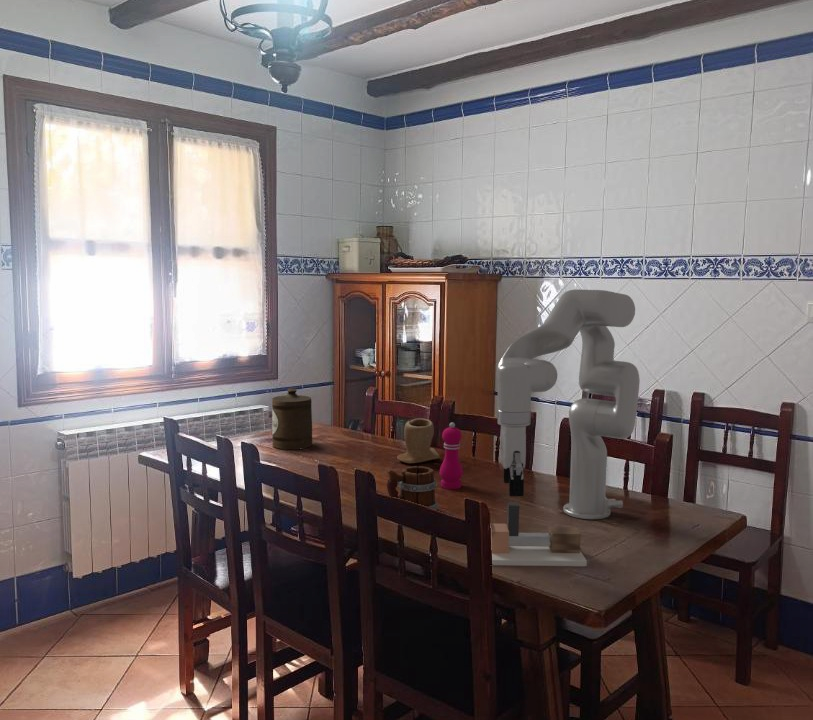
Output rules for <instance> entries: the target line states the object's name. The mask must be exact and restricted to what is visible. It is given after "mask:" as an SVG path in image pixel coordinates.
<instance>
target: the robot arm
mask: <svg viewBox="0 0 813 720" xmlns="http://www.w3.org/2000/svg"><path fill="white" fill-rule="evenodd" d="M635 315H636V306H635V302H634V300H633V298H632V297H630V295H628V294H625V293H619V292H614V291H610V290H602V289H570V290H567V291H565V292H564V293H562V294H561V296H560V297H559V299H558V300H557V301H556V303H555V305H554V306H553V308H552V309H551V311H550V312H549V314H548V315H547V317H546V319H545V320H544V321H543V323H542V325H540V326H538V327H536V328H533V329H532V330H530V331H528V332H526V333H524V334H523V335H521V336H519V337H518V338H517V339H516V340H514V341H513V342H512V343H511V344H510V345H509V346H508V348H507V349H506V350H505V352H503V353H504V354H503V355H502V357H501V359H500V360H499V362H498V364H497V369H496V379H497V424H498V425H499V426H500V437H499V442H500V444H499V460H500V464H501V466H502V467H503V483H504V484H508V485H509V486H508V490H509V491H508V495H509V497H524V495H525V494H524V493H525V491H524V489H525V488H524V487H525V484H524V482H525V479H524V470H523V469H525V468H526V461H527V460H526V458H527V444H526V443H527V441H526V440H527V433H526V432H527V430H526V429H527V427H528V426H530V425H531V419H532V418H531V413H532V412H531V411H532V409H531V408H532V407H531V405H532V402H531V401H532V396H531V395H532V393H545V392H547V391H548V392H549V390H551V389H552V388H554V386H555V385H556V382H557V380H558V370H557V368H556V366H555V365H554V364H553V363H552V362H550V361H548V360H545V359H537V357H540V356H545V355H549V354H553V353H557V352H560V351H564V350H565V349H567V348H569V347H570V346H571V345H572V344H573V342H574V340H575V339H576V337H577V335H578V333H580V335H581V341H582V344H581V345H582V346H581V356H580V365H579V374H578V385H579V388H580V389H581V390H582V391H583V392H585V393H588V394H591V395H599V396H600V395H601V396H607V397H608V396H609V397H613V398H614V397H615V401H611V400H604V399H598V398H597V399H596V398H580V399H577V400H574V402H573V403H572V404H571V405H570V408H569V411H568V423H569V428H570V429H569V430H570V436H571V437H570V438H571V440H570V442H571V444H570V447H571V451H570V471H569V472H570V475H569V476H570V477H569V501H568V502H566V504H564V505H563V512H564V513H565V514H566V515H568V516H570V517H573V518H577V519H584V520H602V519H607V518H609V517H610V516H611V509H612V508H618V509H620V508H623V507H624V501H623V500H616V498H608V497H607V496H606V487H607V486H606V485H607V467H608V465H607V462H608V450H607V447H606V444H605V442H604V440H603V438H602V437H606V438H613V439H621V440H622V439H624V440H625V439H628V438H629V437H630V436H632V434H633V432H634V430H635V425H636V420H637V419H636V418H637V409H638V402H639V401H638V400H639V391H640V379H641V378H640V374H639V370H638V368H637V366H636V365H634V363H631V362H630V361H629V362H628V361H621V360H615V359H614V356H615V346H616V345H615V339H614V336H613V334H612V332H611V330H610V329H609V328H608V327H612V328H624V327H625V328H626V327H628V326H629V325H630V324H631V323H632V322H633V321H634V319H635ZM535 358H536V359H535Z"/></svg>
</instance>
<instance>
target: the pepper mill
mask: <svg viewBox="0 0 813 720" xmlns="http://www.w3.org/2000/svg"><path fill="white" fill-rule="evenodd" d="M441 434H442V435H441V437H442V440H443V441H444V443H443V448H444V451H445V453H444V458H443V461H442V463H441V465H440V468H439V476H440V477H441V480H440V486H441V487H440V488H444V489H447V490H458V489H460V488H461V487H462V480H461V479H462V478H463V475H464V468H463V465H462V463H461V461H460V458H459V449H460V448H461V443H460V442H461V441H462V438H463V434H462V431H461V430H460V429H459V428H457V427H456V424H455V422H450V423H449V425H448V427H447V428H445V429H443V432H442V433H441Z"/></svg>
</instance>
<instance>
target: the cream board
mask: <svg viewBox="0 0 813 720" xmlns="http://www.w3.org/2000/svg"><path fill="white" fill-rule="evenodd" d="M492 564H493V565H492V566H525V567H526V566H527V567H529V566H531V567H533V566H536V567H538V566H539V567H540V566H541V567H545V566H546V567H587V566H588V565H587V564H588V560H587V559H586V558H585V556H584V554H583V552H582V551H581V550H580V553H551V551H550V549H549V547H540V546H509V553H492Z"/></svg>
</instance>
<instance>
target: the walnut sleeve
mask: <svg viewBox="0 0 813 720" xmlns="http://www.w3.org/2000/svg"><path fill="white" fill-rule="evenodd" d="M547 533H550V534H551V536H552V537H551V547H549V549H550V551H551V553H580V551H581V535H582V534H581V532H580V531H579V529H578V528H577V527H576V526H575V527H574V526H548V532H547Z"/></svg>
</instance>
